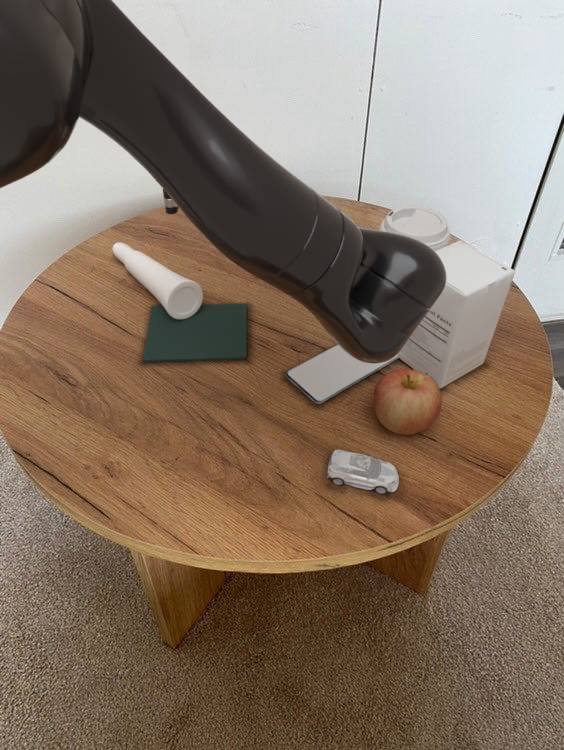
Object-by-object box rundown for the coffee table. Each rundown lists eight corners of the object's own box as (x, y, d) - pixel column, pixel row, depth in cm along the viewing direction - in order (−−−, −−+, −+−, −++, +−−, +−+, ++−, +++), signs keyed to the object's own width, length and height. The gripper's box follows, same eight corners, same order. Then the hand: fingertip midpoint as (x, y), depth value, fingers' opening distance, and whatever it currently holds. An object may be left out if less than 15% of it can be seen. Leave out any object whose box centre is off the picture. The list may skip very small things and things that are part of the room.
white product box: (435, 329, 84) (460, 237, 74) (484, 364, 79) (519, 270, 68) (390, 352, 80) (410, 258, 70) (438, 390, 75) (467, 294, 64)
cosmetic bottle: (186, 272, 81) (118, 223, 95) (158, 305, 80) (93, 251, 94) (210, 296, 85) (142, 246, 99) (183, 327, 85) (118, 272, 99)
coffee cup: (398, 284, 92) (413, 195, 81) (446, 313, 87) (468, 222, 76) (355, 307, 88) (365, 217, 77) (402, 339, 82) (420, 247, 72)
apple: (358, 430, 70) (365, 383, 65) (384, 390, 75) (393, 343, 70) (420, 457, 67) (433, 411, 62) (444, 413, 72) (458, 367, 67)
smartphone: (283, 373, 76) (366, 328, 83) (283, 376, 77) (366, 331, 83) (317, 403, 72) (402, 354, 79) (317, 406, 73) (401, 357, 79)
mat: (143, 362, 79) (142, 359, 78) (153, 308, 87) (152, 305, 87) (246, 359, 79) (246, 357, 79) (246, 306, 88) (246, 303, 87)
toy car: (396, 498, 63) (400, 482, 61) (324, 483, 65) (325, 467, 63) (399, 471, 66) (403, 455, 64) (330, 457, 67) (332, 441, 65)
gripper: (318, 162, 57) (220, 110, 67) (203, 202, 51) (114, 138, 61) (314, 231, 62) (224, 172, 72) (209, 273, 56) (127, 204, 66)
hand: (174, 157), depth 66 cm, fingers closed
